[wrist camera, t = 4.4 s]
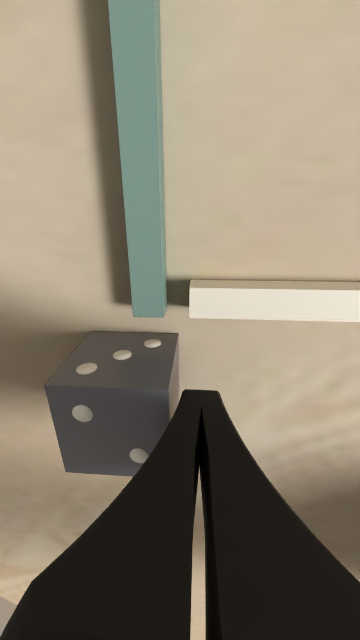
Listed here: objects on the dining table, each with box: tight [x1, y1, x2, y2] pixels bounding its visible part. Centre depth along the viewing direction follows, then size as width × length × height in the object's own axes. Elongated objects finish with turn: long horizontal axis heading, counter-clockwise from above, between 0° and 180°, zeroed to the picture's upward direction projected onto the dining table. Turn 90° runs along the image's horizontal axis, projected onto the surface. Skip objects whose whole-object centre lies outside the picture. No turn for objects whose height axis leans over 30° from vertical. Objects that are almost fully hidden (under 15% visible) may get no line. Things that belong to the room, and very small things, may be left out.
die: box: [44, 331, 179, 476], centre depth 11 cm, size 4×4×4 cm
